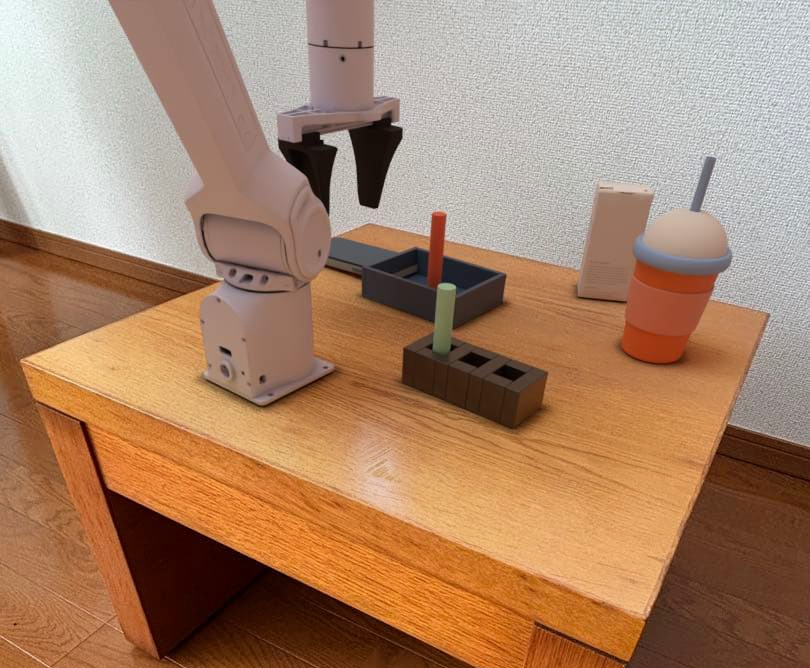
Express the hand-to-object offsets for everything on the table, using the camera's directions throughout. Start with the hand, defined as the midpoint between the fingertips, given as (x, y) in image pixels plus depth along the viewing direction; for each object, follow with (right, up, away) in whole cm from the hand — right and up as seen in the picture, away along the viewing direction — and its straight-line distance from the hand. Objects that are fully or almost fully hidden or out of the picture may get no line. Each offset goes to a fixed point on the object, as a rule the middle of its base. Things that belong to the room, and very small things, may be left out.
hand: (344, 214), depth 65 cm
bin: (+9, -4, +12) cm, 15 cm away
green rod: (+9, -18, -4) cm, 20 cm away
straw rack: (+12, -19, -5) cm, 23 cm away
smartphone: (0, +3, +19) cm, 19 cm away
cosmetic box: (+30, -3, +15) cm, 34 cm away
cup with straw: (+32, -13, +4) cm, 35 cm away
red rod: (+9, -4, +11) cm, 15 cm away
